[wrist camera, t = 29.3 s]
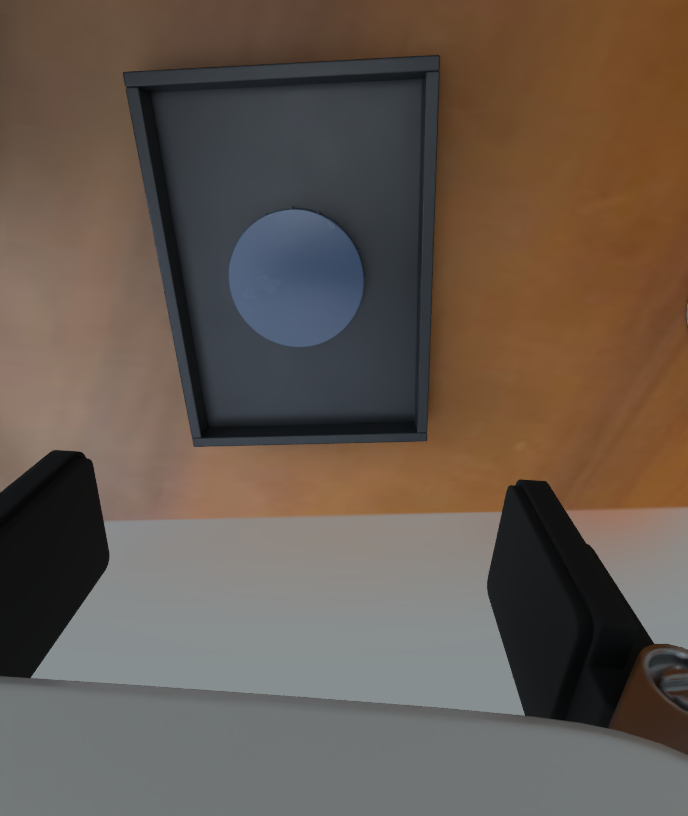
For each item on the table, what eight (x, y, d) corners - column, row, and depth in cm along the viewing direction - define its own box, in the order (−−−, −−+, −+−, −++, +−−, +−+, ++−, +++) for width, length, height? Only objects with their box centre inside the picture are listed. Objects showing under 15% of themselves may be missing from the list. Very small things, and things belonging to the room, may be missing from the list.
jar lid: (239, 197, 25) (231, 198, 24) (374, 218, 25) (375, 220, 24) (232, 329, 28) (225, 337, 27) (353, 347, 28) (353, 356, 27)
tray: (422, 424, 31) (426, 441, 29) (204, 430, 32) (193, 447, 30) (432, 66, 23) (440, 54, 21) (142, 81, 24) (121, 71, 22)
